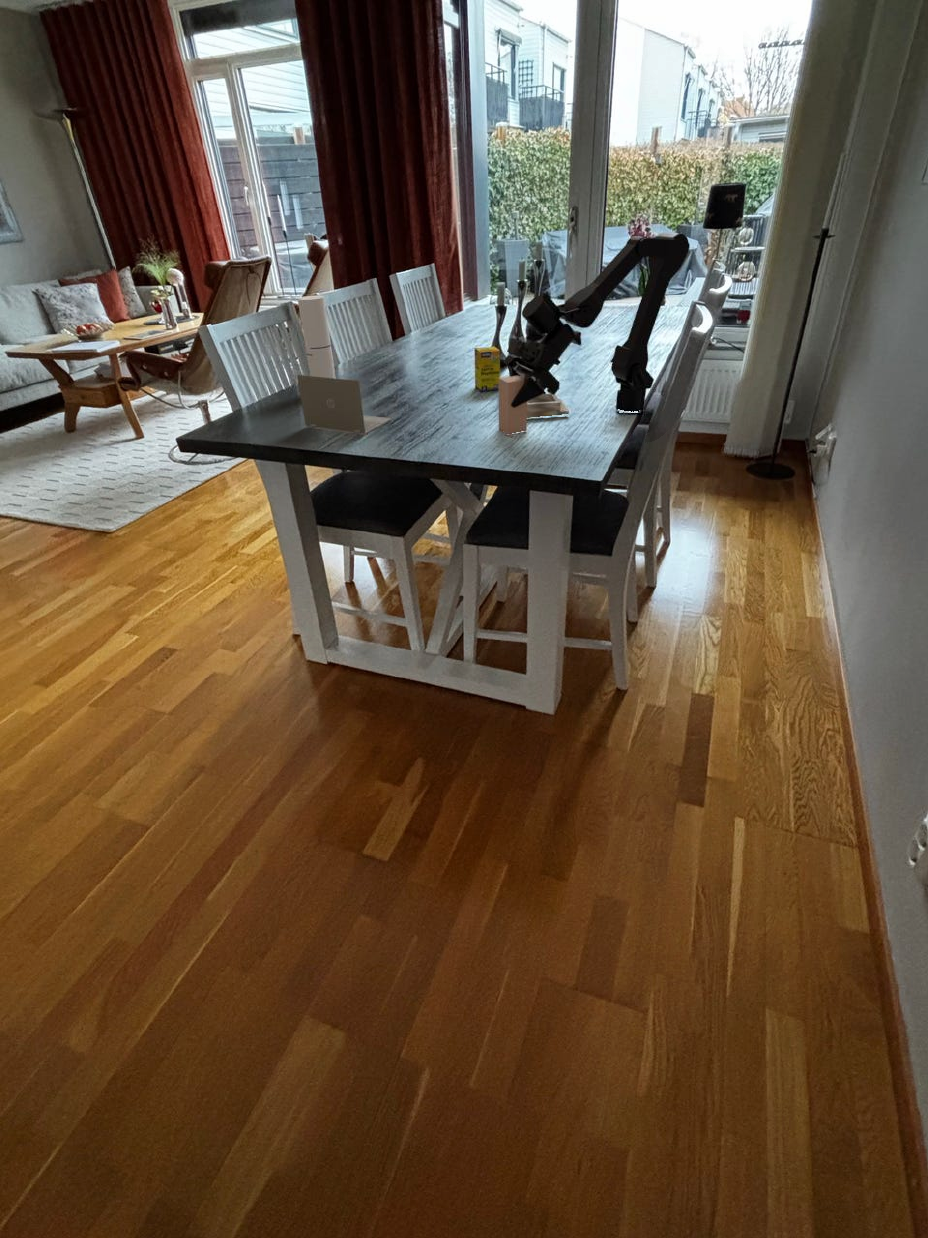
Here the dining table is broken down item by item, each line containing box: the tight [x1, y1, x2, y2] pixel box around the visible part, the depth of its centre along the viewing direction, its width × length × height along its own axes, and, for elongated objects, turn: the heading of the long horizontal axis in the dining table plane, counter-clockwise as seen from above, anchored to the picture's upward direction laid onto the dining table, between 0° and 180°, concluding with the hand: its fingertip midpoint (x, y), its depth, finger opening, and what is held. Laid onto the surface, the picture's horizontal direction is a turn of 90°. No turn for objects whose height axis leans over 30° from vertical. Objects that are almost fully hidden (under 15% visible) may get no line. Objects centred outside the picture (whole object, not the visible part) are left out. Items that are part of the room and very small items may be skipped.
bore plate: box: [527, 392, 570, 418], centre depth 163 cm, size 13×11×4 cm
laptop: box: [296, 374, 392, 436], centre depth 159 cm, size 18×12×13 cm
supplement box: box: [474, 346, 501, 393], centre depth 181 cm, size 6×6×11 cm
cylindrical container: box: [297, 295, 337, 379], centre depth 182 cm, size 7×7×25 cm
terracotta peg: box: [498, 375, 528, 435], centre depth 150 cm, size 5×5×12 cm
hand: (507, 403), depth 149 cm, fingers closed on terracotta peg, 5 cm apart
